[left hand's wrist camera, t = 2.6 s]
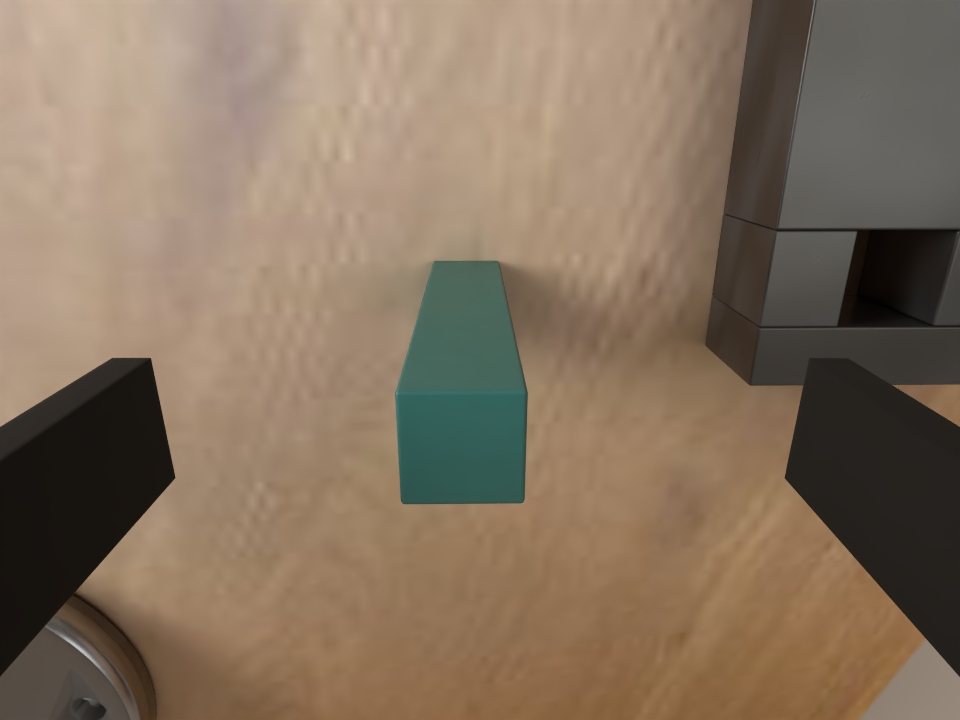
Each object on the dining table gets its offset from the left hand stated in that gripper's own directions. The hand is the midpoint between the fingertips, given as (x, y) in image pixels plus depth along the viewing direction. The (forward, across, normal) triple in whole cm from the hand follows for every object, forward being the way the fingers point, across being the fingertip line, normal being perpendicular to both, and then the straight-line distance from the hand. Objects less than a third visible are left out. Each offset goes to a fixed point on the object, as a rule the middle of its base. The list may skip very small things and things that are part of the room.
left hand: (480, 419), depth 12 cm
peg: (+11, 0, 0) cm, 11 cm away
